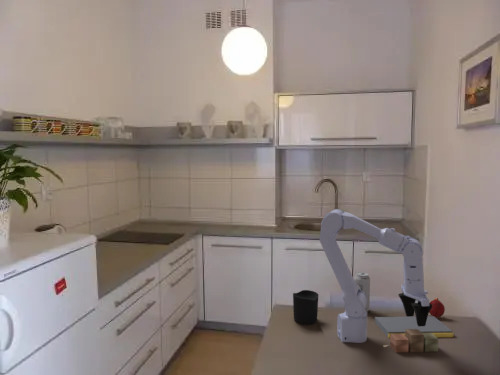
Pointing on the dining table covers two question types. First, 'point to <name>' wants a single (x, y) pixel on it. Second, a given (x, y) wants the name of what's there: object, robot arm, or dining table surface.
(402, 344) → the block
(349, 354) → the dining table surface
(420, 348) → the board
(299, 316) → the pen holder
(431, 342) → the block
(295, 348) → the dining table surface
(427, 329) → the dock
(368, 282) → the energy drink can
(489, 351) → the dining table surface
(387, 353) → the dining table surface
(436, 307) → the onion
